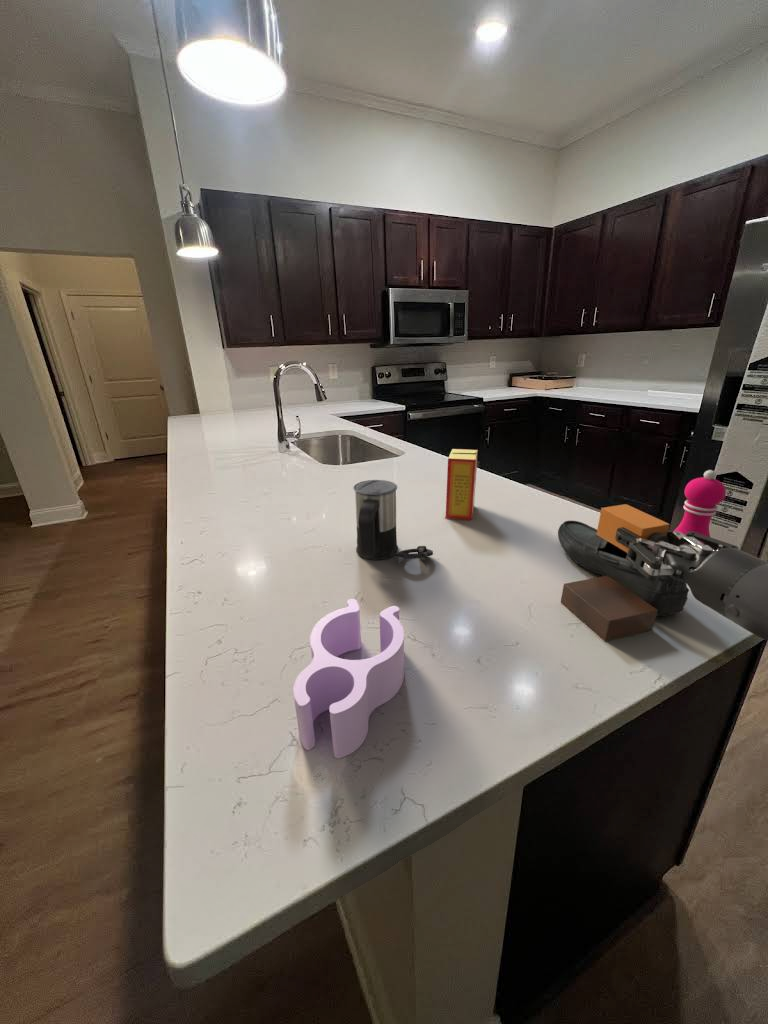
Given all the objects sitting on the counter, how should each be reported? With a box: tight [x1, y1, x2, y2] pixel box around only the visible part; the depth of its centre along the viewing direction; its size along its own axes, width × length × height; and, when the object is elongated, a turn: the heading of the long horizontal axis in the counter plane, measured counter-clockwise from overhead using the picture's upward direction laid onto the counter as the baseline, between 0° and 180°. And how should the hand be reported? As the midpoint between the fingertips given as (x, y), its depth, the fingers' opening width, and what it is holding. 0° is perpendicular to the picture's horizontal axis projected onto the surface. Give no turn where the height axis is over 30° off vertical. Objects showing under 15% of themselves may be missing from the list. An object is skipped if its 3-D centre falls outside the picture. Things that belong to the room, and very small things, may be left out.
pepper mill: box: [673, 469, 727, 544], centre depth 79 cm, size 7×7×20 cm
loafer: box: [557, 520, 690, 617], centre depth 78 cm, size 10×29×10 cm, turn 18°
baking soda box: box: [445, 448, 479, 521], centre depth 107 cm, size 10×6×16 cm
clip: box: [292, 598, 405, 759], centre depth 55 cm, size 20×12×7 cm, turn 163°
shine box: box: [560, 575, 658, 642], centre depth 68 cm, size 10×9×4 cm
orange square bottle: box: [596, 503, 670, 554], centre depth 61 cm, size 9×5×5 cm, turn 16°
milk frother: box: [353, 479, 434, 560], centre depth 87 cm, size 14×16×15 cm
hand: (633, 530), depth 61 cm, fingers closed on orange square bottle, 4 cm apart
